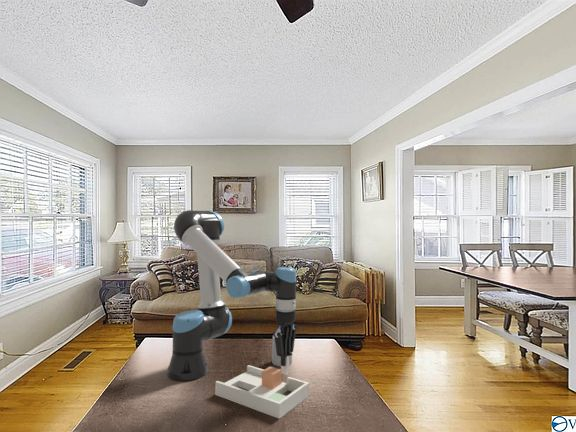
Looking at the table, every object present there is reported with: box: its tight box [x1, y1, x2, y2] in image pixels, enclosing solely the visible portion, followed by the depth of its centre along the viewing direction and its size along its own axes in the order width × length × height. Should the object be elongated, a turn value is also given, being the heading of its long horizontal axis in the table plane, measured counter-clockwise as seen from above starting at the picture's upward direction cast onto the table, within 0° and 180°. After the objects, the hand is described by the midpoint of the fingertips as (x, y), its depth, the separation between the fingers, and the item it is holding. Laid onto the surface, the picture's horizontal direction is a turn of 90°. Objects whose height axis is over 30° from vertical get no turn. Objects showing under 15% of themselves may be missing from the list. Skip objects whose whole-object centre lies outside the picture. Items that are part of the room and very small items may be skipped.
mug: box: [271, 335, 293, 367], centre depth 159 cm, size 12×8×11 cm
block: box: [262, 366, 283, 389], centre depth 130 cm, size 5×5×5 cm
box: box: [214, 364, 310, 419], centre depth 127 cm, size 27×18×4 cm, turn 57°
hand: (284, 373), depth 136 cm, fingers closed
